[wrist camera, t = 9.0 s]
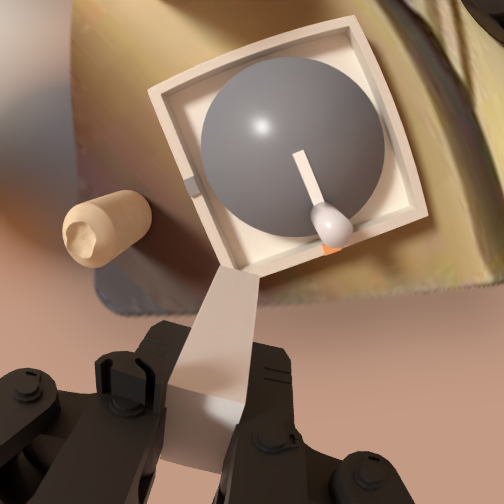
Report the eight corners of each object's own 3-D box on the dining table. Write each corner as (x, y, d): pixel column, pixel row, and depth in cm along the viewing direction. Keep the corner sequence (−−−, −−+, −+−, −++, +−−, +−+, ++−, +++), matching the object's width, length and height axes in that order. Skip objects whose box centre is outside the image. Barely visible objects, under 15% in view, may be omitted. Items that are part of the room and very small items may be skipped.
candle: (161, 226, 32) (120, 257, 23) (121, 248, 34) (74, 284, 24) (137, 179, 31) (86, 193, 22) (98, 204, 32) (43, 226, 23)
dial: (178, 104, 27) (147, 90, 20) (336, 41, 25) (356, 9, 17) (247, 256, 32) (240, 290, 24) (400, 195, 29) (437, 211, 21)
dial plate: (346, 26, 25) (354, 13, 22) (415, 209, 30) (429, 216, 27) (158, 95, 28) (145, 89, 25) (234, 275, 34) (230, 289, 30)
